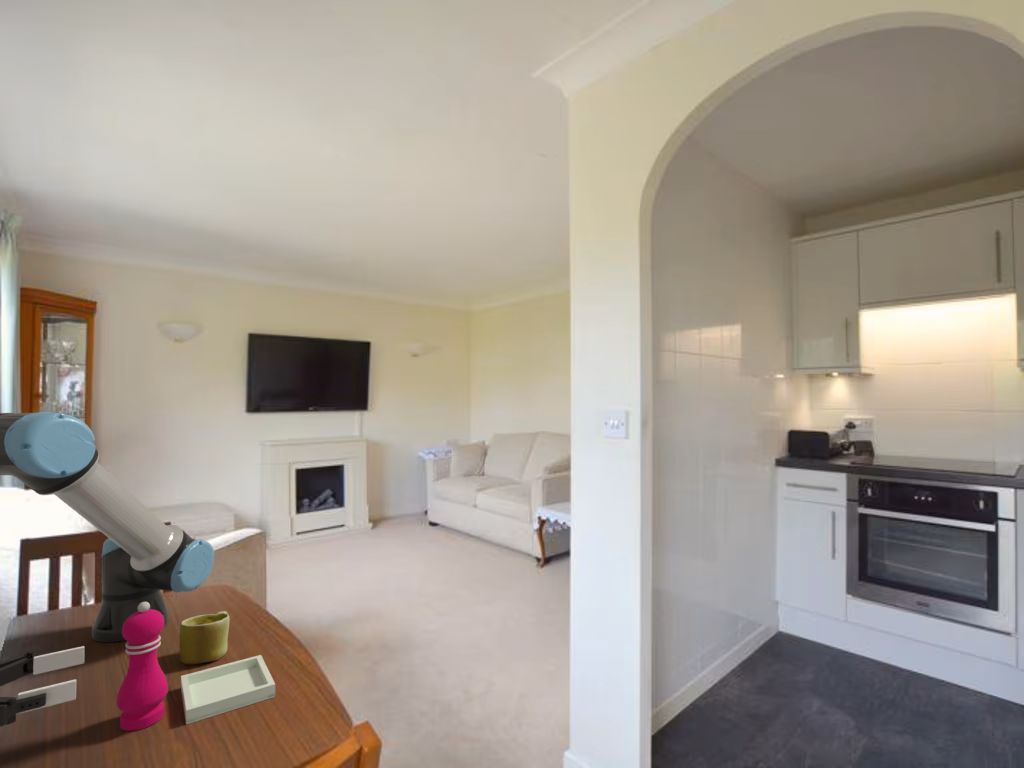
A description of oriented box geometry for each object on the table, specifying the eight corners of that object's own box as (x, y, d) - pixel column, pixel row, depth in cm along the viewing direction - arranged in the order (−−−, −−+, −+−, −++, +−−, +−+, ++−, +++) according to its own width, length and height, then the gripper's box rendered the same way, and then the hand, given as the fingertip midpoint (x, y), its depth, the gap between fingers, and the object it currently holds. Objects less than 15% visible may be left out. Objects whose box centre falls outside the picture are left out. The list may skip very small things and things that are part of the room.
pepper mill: (110, 737, 86) (112, 613, 86) (123, 713, 92) (124, 598, 93) (163, 726, 88) (164, 605, 89) (171, 703, 95) (172, 592, 96)
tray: (180, 688, 100) (180, 675, 100) (260, 666, 108) (261, 654, 108) (186, 724, 89) (186, 710, 89) (275, 696, 97) (275, 684, 97)
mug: (209, 663, 106) (204, 611, 109) (167, 675, 108) (164, 624, 111) (253, 648, 117) (247, 602, 120) (215, 659, 119) (210, 613, 122)
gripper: (-85, 703, 84) (86, 663, 96) (-159, 799, 63) (71, 733, 75) (-84, 655, 84) (87, 621, 96) (-157, 735, 63) (72, 679, 76)
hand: (80, 670), depth 86 cm, fingers open, 13 cm apart
